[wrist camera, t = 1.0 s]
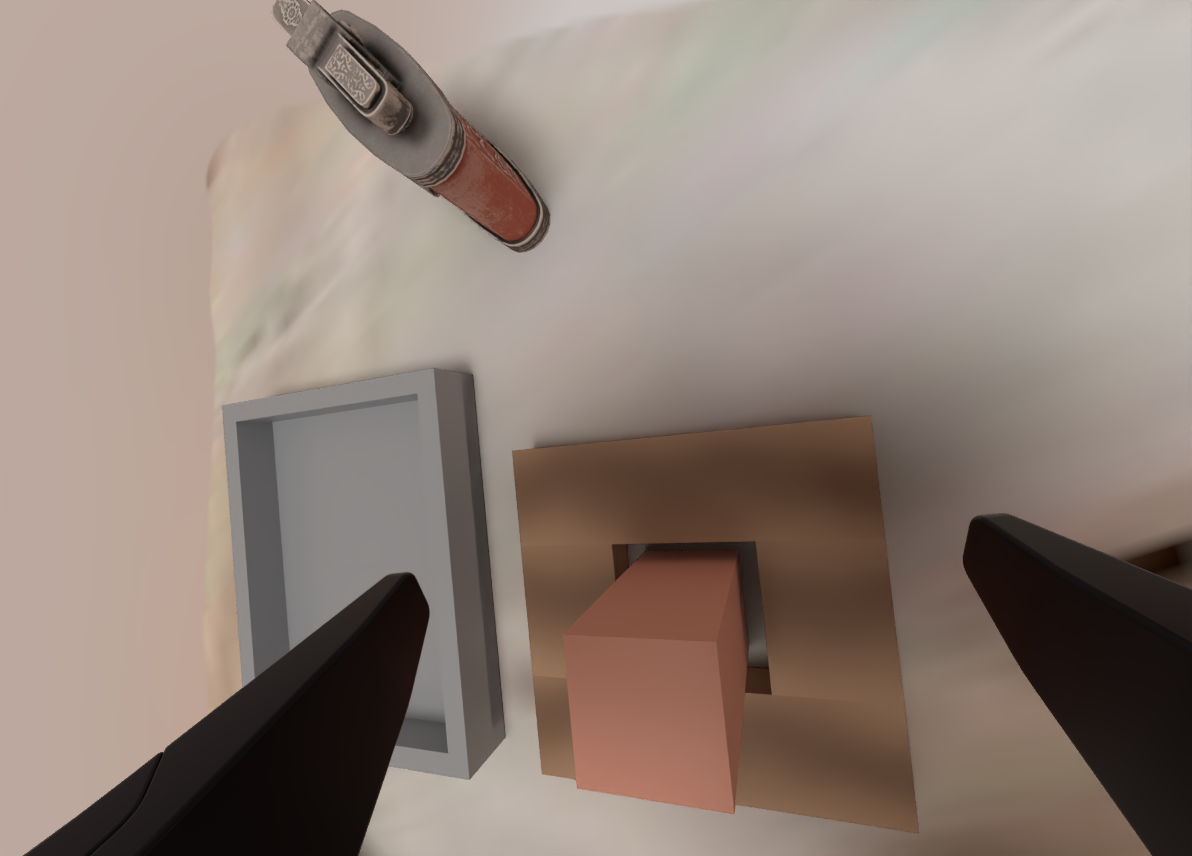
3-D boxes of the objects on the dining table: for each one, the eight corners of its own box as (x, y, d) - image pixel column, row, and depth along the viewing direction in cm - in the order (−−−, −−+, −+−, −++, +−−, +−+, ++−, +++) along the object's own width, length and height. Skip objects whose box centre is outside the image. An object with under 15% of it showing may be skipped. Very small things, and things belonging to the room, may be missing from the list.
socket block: (903, 790, 18) (919, 833, 16) (560, 744, 22) (541, 773, 21) (859, 416, 18) (870, 415, 16) (533, 448, 23) (512, 450, 21)
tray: (505, 737, 24) (469, 779, 21) (298, 710, 28) (246, 741, 25) (472, 375, 24) (433, 368, 21) (275, 407, 29) (222, 405, 26)
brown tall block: (748, 647, 20) (734, 814, 11) (653, 642, 21) (576, 788, 13) (738, 549, 20) (716, 641, 11) (644, 551, 21) (562, 634, 13)
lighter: (425, 169, 25) (219, 15, 16) (464, 114, 24) (272, -83, 15) (519, 268, 23) (349, 161, 14) (565, 212, 22) (418, 58, 13)
